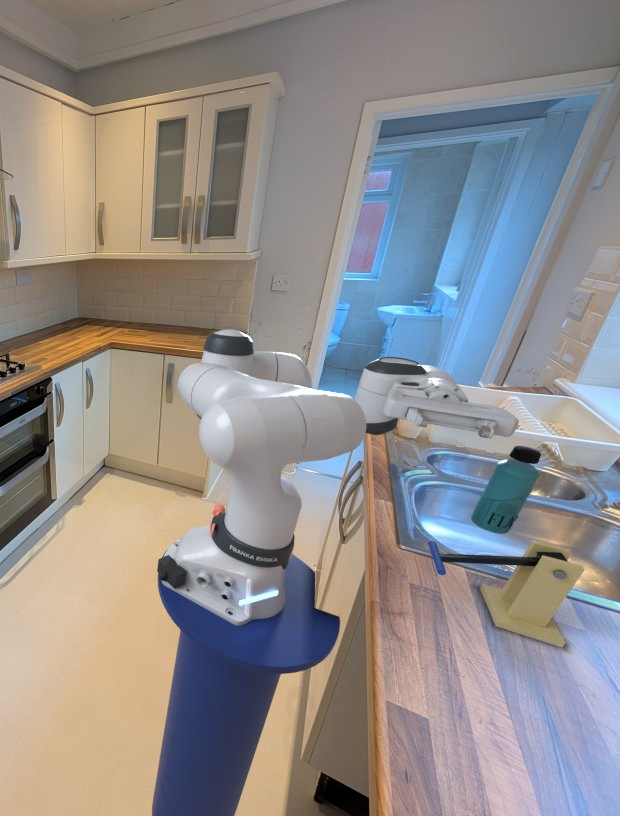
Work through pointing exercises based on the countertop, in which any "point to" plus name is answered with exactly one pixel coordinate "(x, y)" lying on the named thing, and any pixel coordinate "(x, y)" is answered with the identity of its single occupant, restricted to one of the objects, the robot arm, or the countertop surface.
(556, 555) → the lever
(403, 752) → the countertop surface
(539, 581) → the switch bracket
